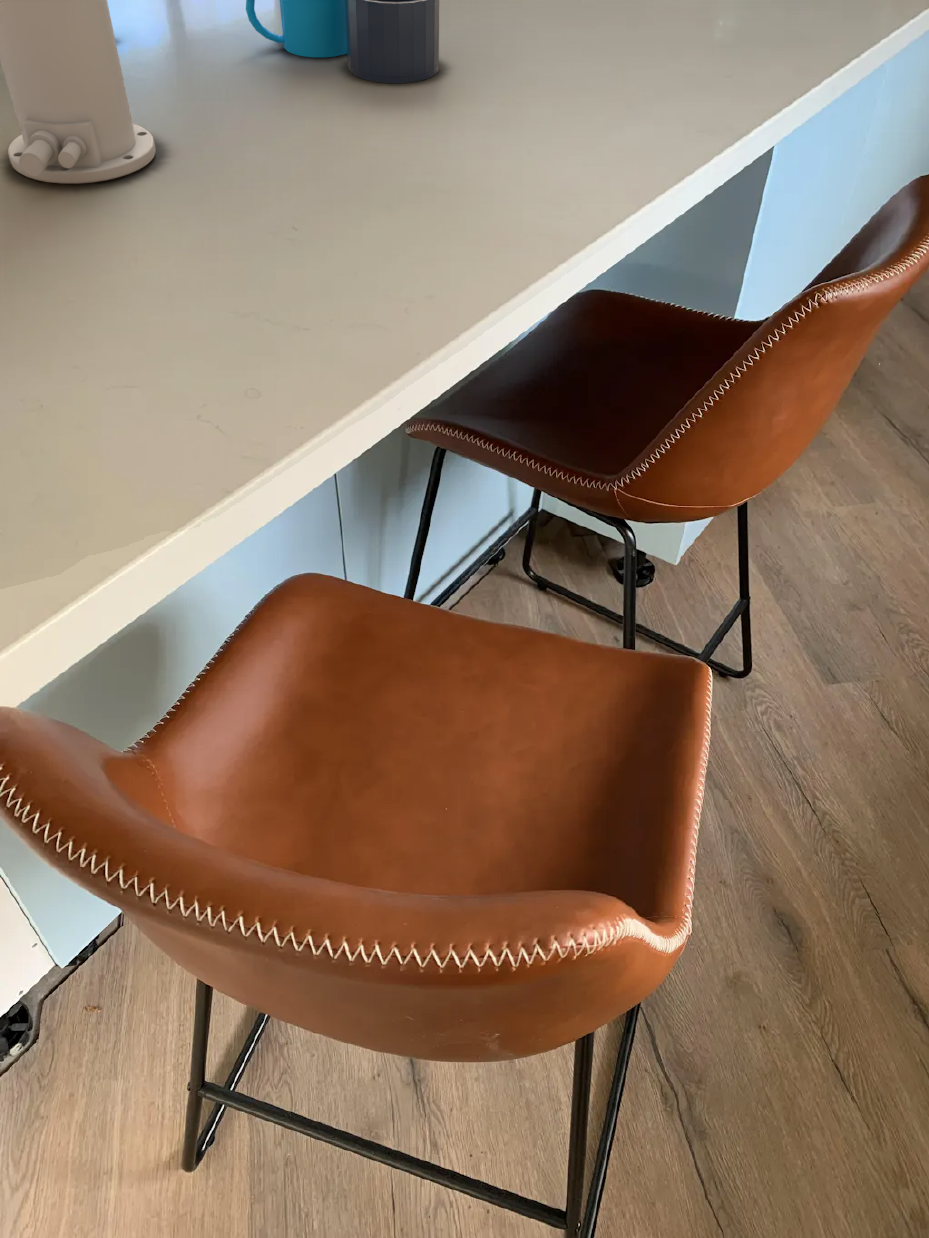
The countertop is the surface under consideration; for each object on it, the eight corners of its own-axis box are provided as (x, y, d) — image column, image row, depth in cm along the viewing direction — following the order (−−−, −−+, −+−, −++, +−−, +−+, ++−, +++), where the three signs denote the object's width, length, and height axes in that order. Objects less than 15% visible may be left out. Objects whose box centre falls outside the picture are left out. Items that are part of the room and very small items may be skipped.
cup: (438, 85, 103) (439, 4, 97) (345, 82, 102) (340, 1, 97) (438, 55, 110) (439, -22, 104) (351, 52, 109) (347, -25, 104)
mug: (347, 33, 114) (343, -48, 108) (361, 55, 109) (357, -29, 103) (246, 38, 111) (236, -45, 105) (254, 61, 106) (244, -25, 100)
